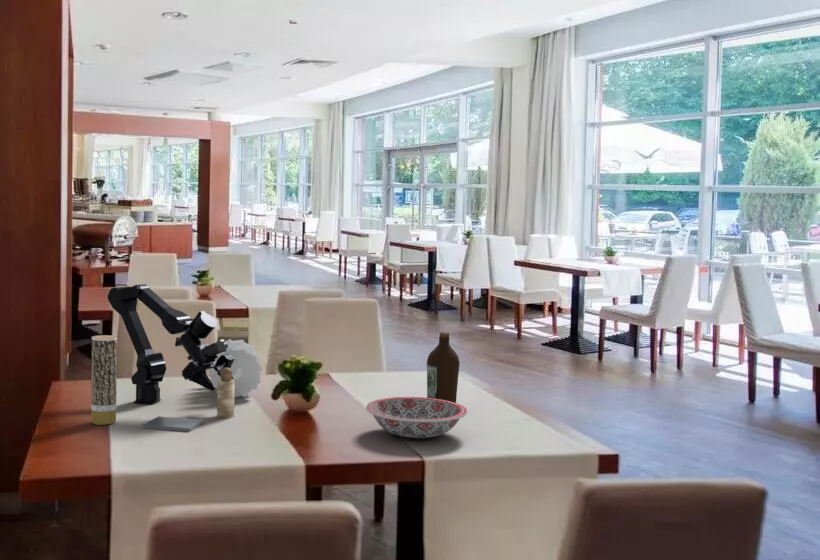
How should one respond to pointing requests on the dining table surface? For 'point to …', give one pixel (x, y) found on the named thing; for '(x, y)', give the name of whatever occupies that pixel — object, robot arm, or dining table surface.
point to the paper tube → (103, 379)
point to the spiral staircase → (240, 367)
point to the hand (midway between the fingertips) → (223, 387)
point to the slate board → (173, 424)
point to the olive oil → (443, 371)
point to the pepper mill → (225, 394)
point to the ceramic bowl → (416, 415)
